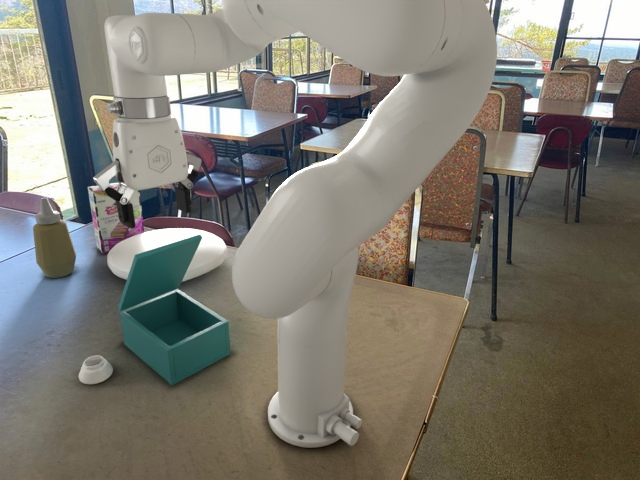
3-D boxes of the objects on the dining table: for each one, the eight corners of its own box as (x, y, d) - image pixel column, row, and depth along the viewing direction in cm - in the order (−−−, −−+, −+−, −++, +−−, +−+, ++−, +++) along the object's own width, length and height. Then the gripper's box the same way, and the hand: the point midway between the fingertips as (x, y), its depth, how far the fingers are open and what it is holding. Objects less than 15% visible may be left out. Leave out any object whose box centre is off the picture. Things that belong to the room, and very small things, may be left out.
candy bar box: (103, 255, 119) (92, 191, 112) (96, 248, 122) (85, 186, 116) (147, 244, 126) (139, 183, 119) (140, 238, 129) (132, 179, 123)
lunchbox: (230, 353, 84) (228, 321, 82) (171, 385, 76) (167, 350, 74) (181, 319, 94) (177, 288, 91) (124, 344, 86) (119, 312, 83)
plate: (148, 220, 128) (243, 230, 124) (149, 243, 130) (242, 254, 126) (78, 252, 102) (195, 267, 97) (81, 281, 104) (196, 297, 99)
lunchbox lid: (202, 237, 80) (200, 233, 80) (137, 258, 72) (134, 254, 72) (178, 288, 91) (176, 285, 91) (119, 311, 83) (117, 308, 83)
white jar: (77, 372, 79) (82, 390, 75) (73, 357, 77) (79, 375, 74) (109, 362, 81) (116, 379, 77) (106, 348, 80) (113, 364, 76)
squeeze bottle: (64, 282, 106) (48, 205, 99) (31, 279, 107) (12, 202, 100) (86, 266, 113) (72, 193, 106) (55, 263, 114) (39, 191, 107)
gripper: (95, 117, 62) (116, 239, 69) (208, 106, 74) (216, 211, 80) (72, 111, 67) (93, 226, 73) (181, 101, 78) (191, 200, 85)
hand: (157, 218), depth 77 cm, fingers open, 9 cm apart
